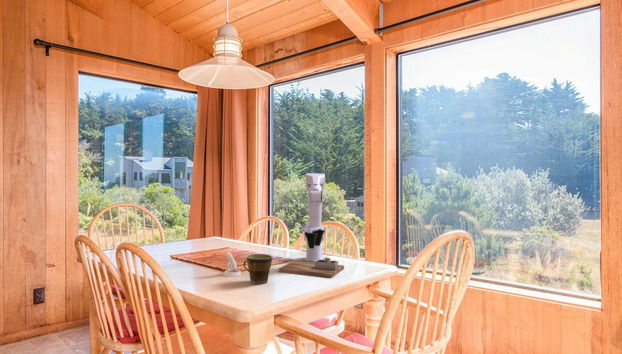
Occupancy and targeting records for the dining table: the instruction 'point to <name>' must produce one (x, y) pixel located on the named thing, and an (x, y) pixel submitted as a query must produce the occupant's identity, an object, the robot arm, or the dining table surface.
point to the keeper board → (309, 269)
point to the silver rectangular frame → (326, 265)
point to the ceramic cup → (258, 267)
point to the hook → (231, 267)
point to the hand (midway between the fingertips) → (314, 246)
